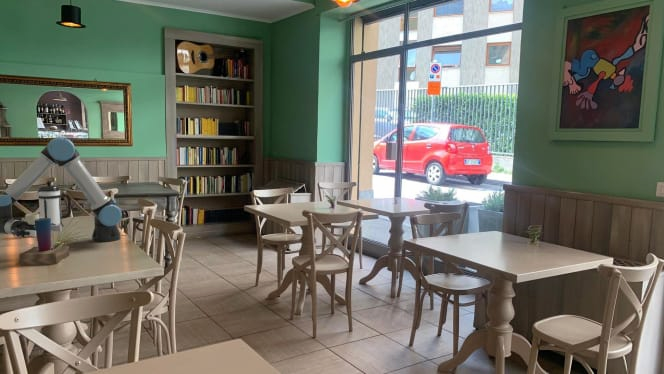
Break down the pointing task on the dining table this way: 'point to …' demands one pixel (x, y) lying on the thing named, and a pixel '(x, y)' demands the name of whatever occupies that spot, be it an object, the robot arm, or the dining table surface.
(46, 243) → the cup
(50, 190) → the coffee press
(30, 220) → the character mug
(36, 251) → the walnut riser
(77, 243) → the dining table surface
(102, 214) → the robot arm
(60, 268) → the dining table surface
